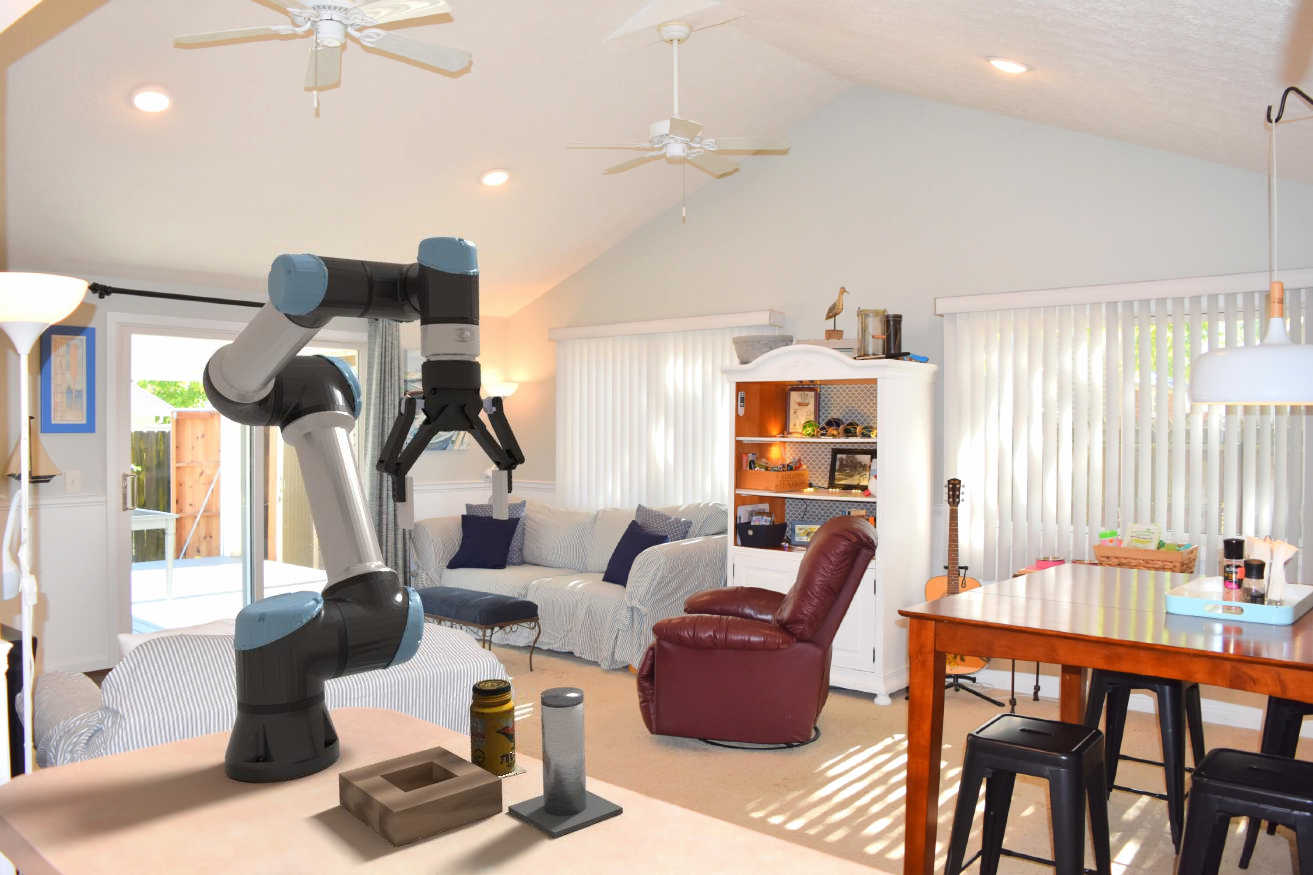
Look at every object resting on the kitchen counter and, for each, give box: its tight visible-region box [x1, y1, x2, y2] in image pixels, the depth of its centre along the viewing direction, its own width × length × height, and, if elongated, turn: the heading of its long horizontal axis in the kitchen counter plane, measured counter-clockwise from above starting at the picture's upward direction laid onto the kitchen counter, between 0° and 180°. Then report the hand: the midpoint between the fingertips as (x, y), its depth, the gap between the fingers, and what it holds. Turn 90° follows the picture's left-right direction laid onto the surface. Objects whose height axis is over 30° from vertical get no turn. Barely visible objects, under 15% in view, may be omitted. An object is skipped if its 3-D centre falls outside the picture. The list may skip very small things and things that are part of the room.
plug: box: [540, 686, 587, 816], centre depth 116 cm, size 5×5×14 cm
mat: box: [507, 789, 624, 839], centre depth 116 cm, size 10×10×1 cm
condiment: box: [469, 678, 527, 777], centre depth 130 cm, size 7×8×12 cm
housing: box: [338, 745, 504, 848], centre depth 118 cm, size 16×14×4 cm
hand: (455, 523), depth 123 cm, fingers open, 13 cm apart
